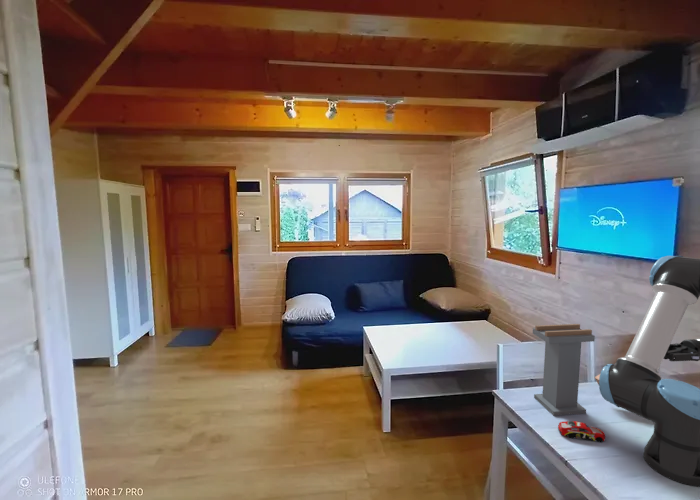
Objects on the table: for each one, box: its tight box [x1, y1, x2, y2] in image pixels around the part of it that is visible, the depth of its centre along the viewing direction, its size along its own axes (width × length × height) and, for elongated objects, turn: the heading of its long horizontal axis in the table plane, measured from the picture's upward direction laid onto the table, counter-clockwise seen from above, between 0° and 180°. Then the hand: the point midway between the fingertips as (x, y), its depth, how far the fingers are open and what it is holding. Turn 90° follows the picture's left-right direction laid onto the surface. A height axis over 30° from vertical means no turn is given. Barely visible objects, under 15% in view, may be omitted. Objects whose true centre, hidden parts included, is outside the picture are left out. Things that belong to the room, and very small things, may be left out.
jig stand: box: [532, 323, 596, 417], centre depth 137 cm, size 16×12×30 cm
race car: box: [557, 420, 607, 443], centre depth 121 cm, size 13×5×4 cm, turn 72°
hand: (639, 352), depth 139 cm, fingers closed on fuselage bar, 4 cm apart
